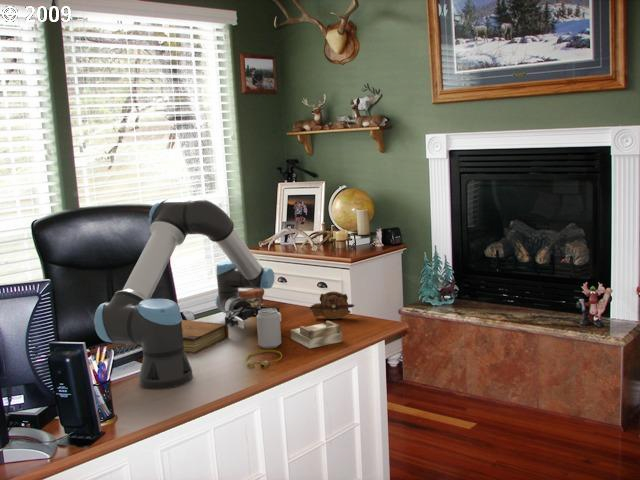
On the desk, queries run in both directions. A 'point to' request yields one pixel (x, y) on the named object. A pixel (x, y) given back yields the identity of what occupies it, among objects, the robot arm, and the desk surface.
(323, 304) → the wooden carving
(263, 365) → the torc
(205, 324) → the diary
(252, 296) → the bull figurine
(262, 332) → the can
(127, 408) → the desk surface
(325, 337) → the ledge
